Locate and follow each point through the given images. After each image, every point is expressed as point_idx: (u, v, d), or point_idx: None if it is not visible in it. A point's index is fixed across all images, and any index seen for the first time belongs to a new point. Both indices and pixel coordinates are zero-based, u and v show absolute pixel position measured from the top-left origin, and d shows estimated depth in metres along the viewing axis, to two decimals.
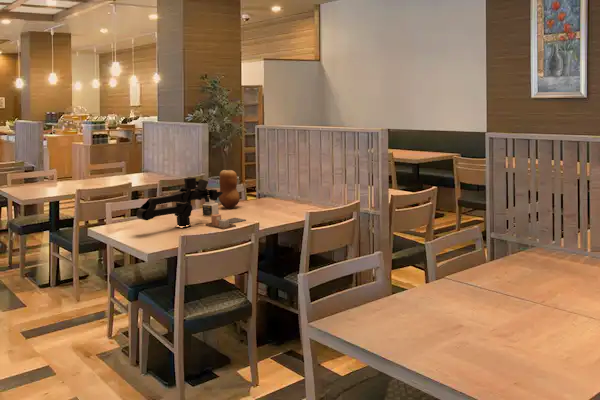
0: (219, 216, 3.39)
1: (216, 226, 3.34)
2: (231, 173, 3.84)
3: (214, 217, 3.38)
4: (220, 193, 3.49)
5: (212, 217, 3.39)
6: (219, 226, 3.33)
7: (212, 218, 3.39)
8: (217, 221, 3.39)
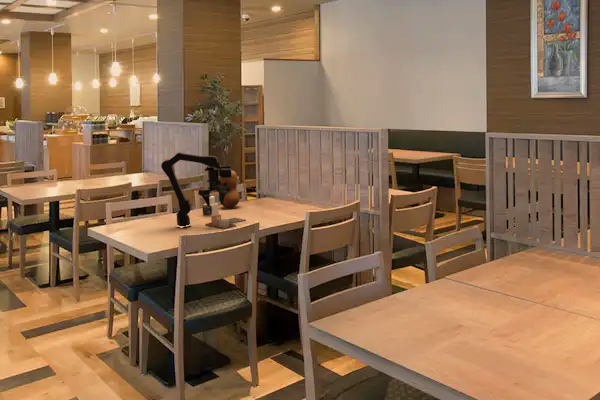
0: (219, 216, 3.39)
1: (216, 226, 3.34)
2: None
3: (214, 217, 3.38)
4: (207, 203, 3.35)
5: (212, 217, 3.39)
6: (219, 226, 3.33)
7: (212, 218, 3.39)
8: (217, 221, 3.39)
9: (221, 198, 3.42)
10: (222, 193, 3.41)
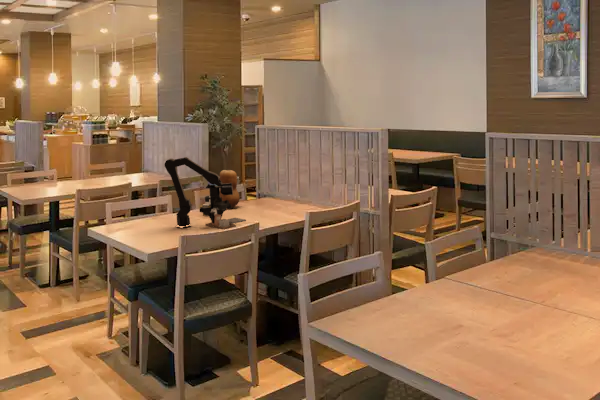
0: (219, 216, 3.39)
1: (216, 226, 3.34)
2: (231, 173, 3.84)
3: (214, 217, 3.38)
4: (212, 220, 3.38)
5: None
6: (219, 226, 3.33)
7: None
8: (217, 221, 3.39)
9: None
10: (220, 211, 3.41)
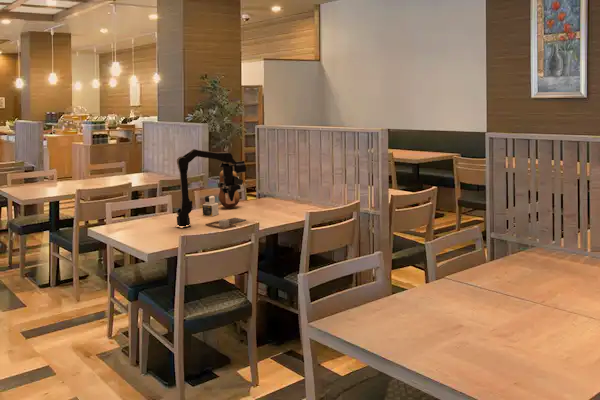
0: None
1: (216, 226, 3.34)
2: None
3: None
4: (232, 197, 3.44)
5: None
6: (219, 226, 3.33)
7: None
8: None
9: None
10: (228, 189, 3.48)
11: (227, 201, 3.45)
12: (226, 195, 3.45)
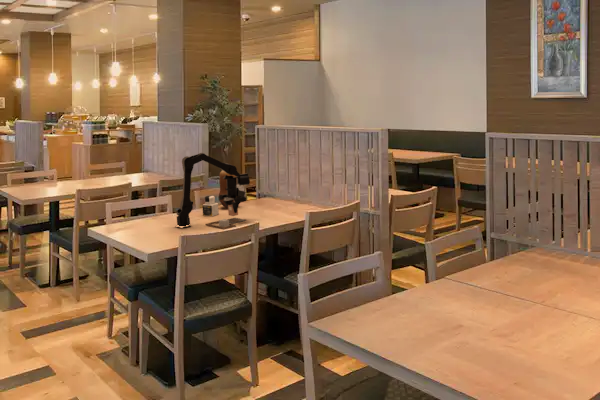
0: None
1: (216, 226, 3.34)
2: None
3: None
4: (236, 209, 3.47)
5: None
6: (219, 226, 3.33)
7: None
8: None
9: None
10: (230, 201, 3.51)
11: (231, 213, 3.48)
12: (230, 207, 3.48)
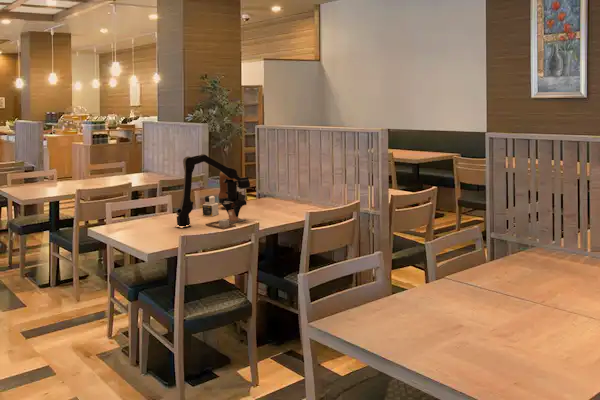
0: None
1: (216, 226, 3.34)
2: None
3: None
4: (237, 213, 3.47)
5: (234, 212, 3.48)
6: (219, 226, 3.33)
7: (234, 213, 3.48)
8: None
9: (229, 209, 3.52)
10: (229, 204, 3.52)
11: (231, 218, 3.48)
12: (230, 212, 3.48)
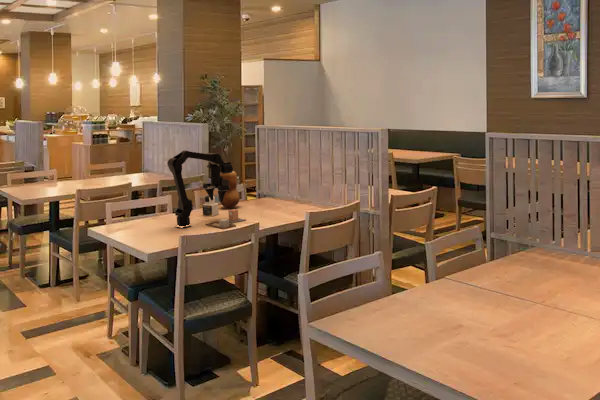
0: None
1: (216, 226, 3.34)
2: (231, 173, 3.84)
3: (236, 211, 3.49)
4: (222, 198, 3.47)
5: (234, 212, 3.48)
6: (219, 226, 3.33)
7: (234, 213, 3.48)
8: None
9: (211, 194, 3.54)
10: (212, 189, 3.54)
11: (231, 218, 3.48)
12: (230, 212, 3.48)
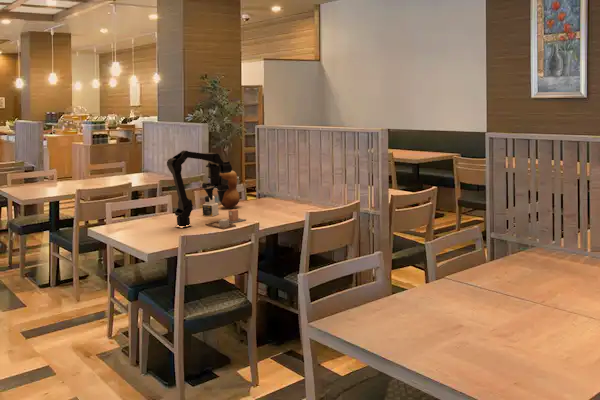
0: None
1: (216, 226, 3.34)
2: (231, 173, 3.84)
3: (236, 211, 3.49)
4: (221, 198, 3.47)
5: (234, 212, 3.48)
6: (219, 226, 3.33)
7: (234, 213, 3.48)
8: None
9: (211, 194, 3.54)
10: (211, 189, 3.54)
11: (231, 218, 3.48)
12: (230, 212, 3.48)
